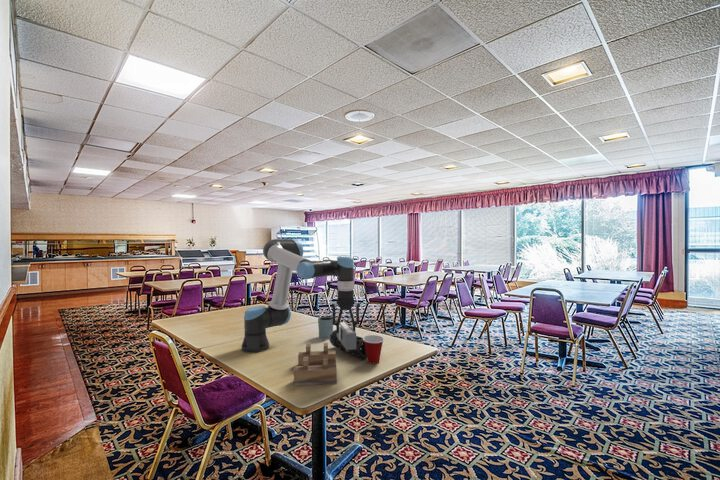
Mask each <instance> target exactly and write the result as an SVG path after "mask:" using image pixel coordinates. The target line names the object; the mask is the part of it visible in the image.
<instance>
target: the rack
mask: <svg viewBox="0 0 720 480" xmlns="http://www.w3.org/2000/svg"><path fill="white" fill-rule="evenodd" d="M311 344H312V343H306V345H305V351H299V352H298V354H297V365H296V366H294V368H293V386H309V385H310V386H311V385H327V384H330V385H331V384H337V383H338V381H337V380H338V379H337V376H338V373H337V361H336V358H337V357H336V355H337V354H336V350H329V342H323V350H317V351H316V350H315V351H313V350H312V349H311V346H312V345H311Z"/></svg>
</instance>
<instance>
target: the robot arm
mask: <svg viewBox="0 0 720 480" xmlns="http://www.w3.org/2000/svg"><path fill="white" fill-rule="evenodd" d="M262 254H263V256H264V257H265V258H264V259H266V260H267V261H269V262H273V263H277V271H276V276H275V281H274V287H273V292H272V293H273V294H272V296H271V297H272V299H271V300H270V301H268V305H267V307H266V306H265V305H256V306H251V307H248V308H246V309H245V311H244V315H243V320H244V323H243V324H244V325H243V326H244V328H243V329H244V337H243V341H242V344H241V345H240V346H241V351H242V352H243V353H260V352H264V351H267V350H269V349H270V342H269V339H268V336H267V329H269V328H273V327H277V326H278V327H279V326H283V325H286V324H288V323H289V321H290V320H291V316H292V312H291V311H292V310H291V307H290V306H289V303H288V296H289V291H290V286H291V282H292V281H291V280H292V277H293V271H295V272H296V273H297V275H298V277H299V278H300V279H311V278H312V279H313V278H319V277H320V278H322V277H331V276H332V277H337V289H338V290H337V300H336V301H335V302H332V303H331V308H332V317H333V326H335V327H336V329H335V330H336V332H337V333H339V340H341V326H340V325H339V323H340V322H341V319H342V316H343V312H344V311H345V310H347V311H348V312H349V316H350V319H351V323H352V324H351V325H350V327H351V328H352V329H353V330H354V331H355V332H356V326H357V325H359V324H360V307H361V303H360V301H359V302H358V301H355V299H354V297H355V296H354V295H355V293H354V289H355V286H354V283H355V282H354V281H355V280H354V279H355V278H354V277H355V276H354V274H355V273H354V272H355V270H354V267H355V265H354V263H355V262H354V257H352V256H339V257H337V260H333V259H324V260H310V259H308V258H305V257H304V256H303V255H304V247H303V244H302V242H301V241H300V240H298V239H295V238H284V239H283V238H279V239H277V238H276V239H275V238H274V239H270V240H268V241H267V242H266V243H264V246H263V248H262ZM337 306H338V308H339V311H338V316H337V320H336V308H337ZM354 306H355V316H356V317H354V314H353V313H354V312H353V309H352V308H353V307H354Z"/></svg>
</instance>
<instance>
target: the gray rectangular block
mask: <svg viewBox="0 0 720 480" xmlns="http://www.w3.org/2000/svg"><path fill="white" fill-rule="evenodd" d="M339 325H340V326H341V340H340V342H341V343H342V345H343V346H344V347H345V349H346V350H353V349H356V336H357V332H356V330H355V331H354V330H353V329H352V328H351V325H349V324H348V322H347V321H340V323H339ZM337 337H338V339H339V333H337Z"/></svg>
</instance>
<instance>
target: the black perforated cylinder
mask: <svg viewBox="0 0 720 480" xmlns="http://www.w3.org/2000/svg"><path fill="white" fill-rule="evenodd" d="M328 340H329V343H330V344H331V345H332V346H333V347H336V348H338V349H340V350H341V351H343V352H345V351H346V352H349V353H350V354H353V355H354V356H356V357H359V358H362V359H366V360H367V355H366V350H365V345H364V341H363V337H362V336H361V337H360V336H358V335H356V349H353V350H346V349H345V347H344V346H343V345H342V343H341V342H340V340H339V339H338V337H337V332H336V329H335V330H334V329H333V331H332V332H331V334H330V336H329V339H328Z"/></svg>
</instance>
